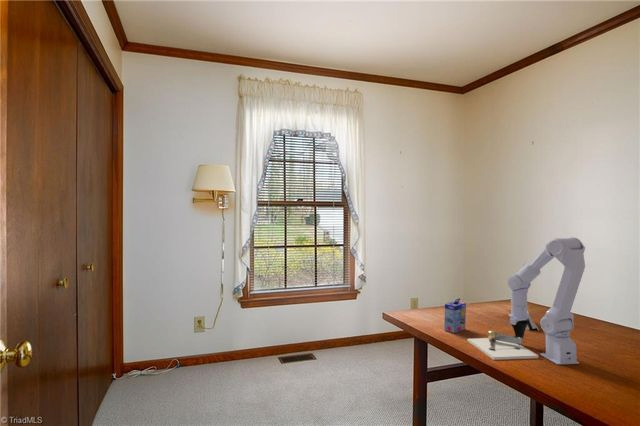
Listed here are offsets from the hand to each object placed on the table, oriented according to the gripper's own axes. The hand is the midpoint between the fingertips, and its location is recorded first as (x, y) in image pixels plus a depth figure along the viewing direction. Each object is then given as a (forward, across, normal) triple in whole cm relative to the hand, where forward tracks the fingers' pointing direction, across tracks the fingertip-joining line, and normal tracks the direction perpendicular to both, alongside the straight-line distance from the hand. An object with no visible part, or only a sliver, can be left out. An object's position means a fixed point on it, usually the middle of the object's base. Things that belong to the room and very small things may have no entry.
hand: (519, 338), depth 148 cm
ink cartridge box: (+2, 0, -27) cm, 27 cm away
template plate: (+2, +11, -3) cm, 11 cm away
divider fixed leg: (+1, +12, -6) cm, 14 cm away
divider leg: (+1, +6, -3) cm, 7 cm away
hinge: (+3, -30, -8) cm, 31 cm away
